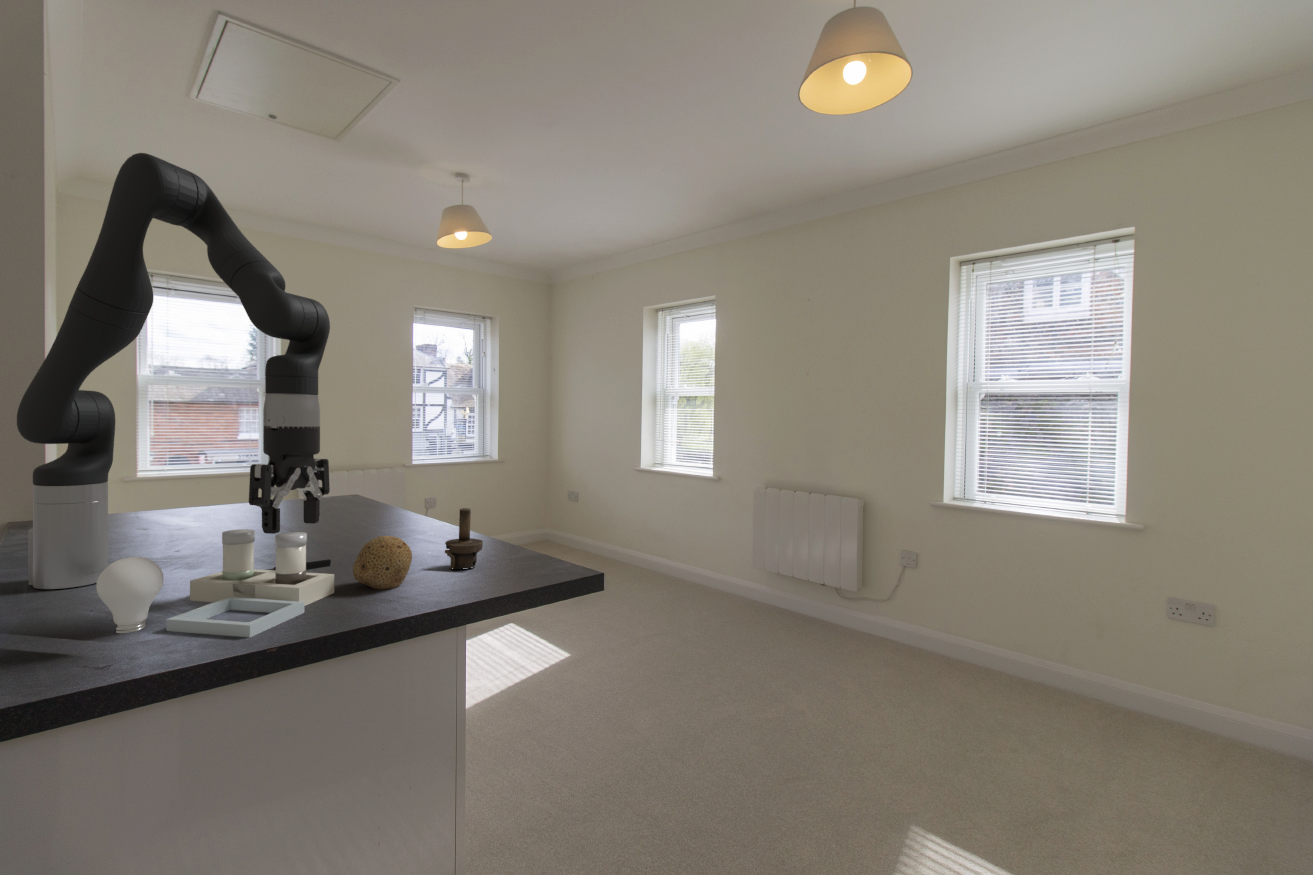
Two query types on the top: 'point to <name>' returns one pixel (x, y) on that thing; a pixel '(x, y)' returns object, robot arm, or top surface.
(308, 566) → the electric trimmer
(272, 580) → the cream divided tray
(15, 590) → the top surface
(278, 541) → the cream and grey canister
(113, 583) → the light bulb
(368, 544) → the natural sponge
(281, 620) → the tray
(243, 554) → the fuse
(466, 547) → the industrial component
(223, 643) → the top surface
